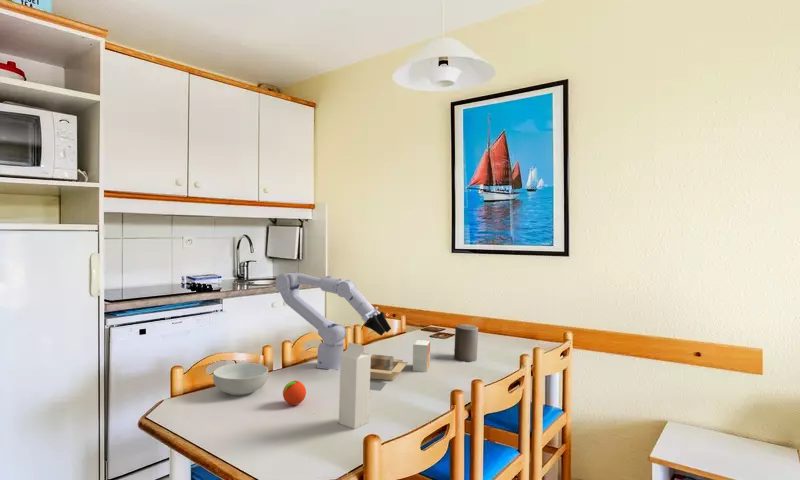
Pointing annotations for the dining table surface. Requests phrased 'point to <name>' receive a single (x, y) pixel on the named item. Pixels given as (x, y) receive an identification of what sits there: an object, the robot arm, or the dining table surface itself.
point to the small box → (421, 355)
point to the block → (382, 362)
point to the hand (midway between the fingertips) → (386, 332)
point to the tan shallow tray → (388, 375)
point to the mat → (376, 385)
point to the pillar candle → (466, 343)
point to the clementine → (294, 392)
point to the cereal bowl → (240, 378)
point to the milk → (354, 386)
